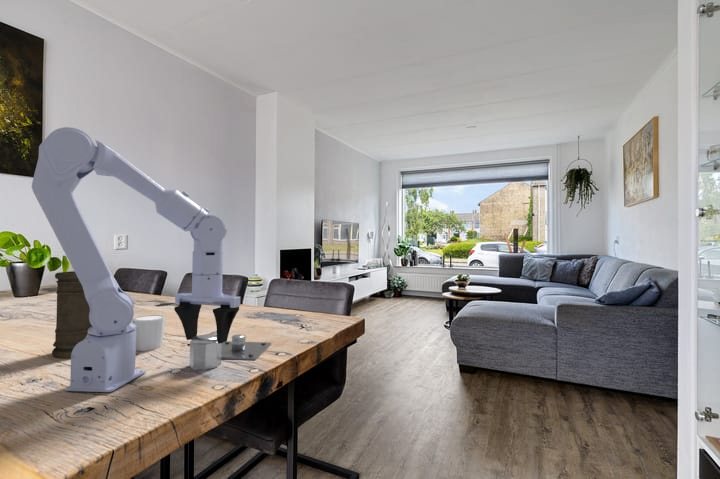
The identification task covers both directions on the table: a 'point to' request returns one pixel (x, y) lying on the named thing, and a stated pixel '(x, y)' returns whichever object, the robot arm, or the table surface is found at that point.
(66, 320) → the container
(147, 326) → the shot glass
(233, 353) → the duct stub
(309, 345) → the table surface
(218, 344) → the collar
